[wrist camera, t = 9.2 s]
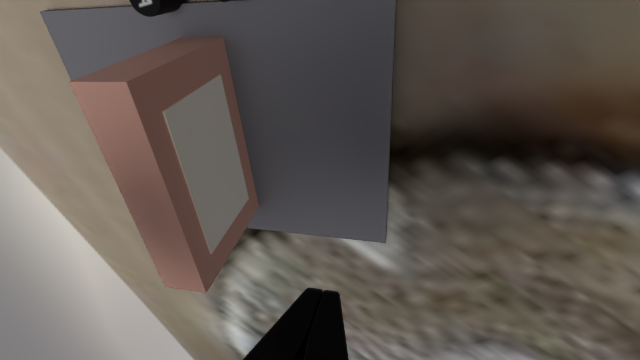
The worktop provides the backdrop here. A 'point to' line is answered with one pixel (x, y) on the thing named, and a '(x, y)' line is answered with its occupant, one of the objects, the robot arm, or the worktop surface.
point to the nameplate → (157, 6)
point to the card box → (176, 153)
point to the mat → (280, 96)
